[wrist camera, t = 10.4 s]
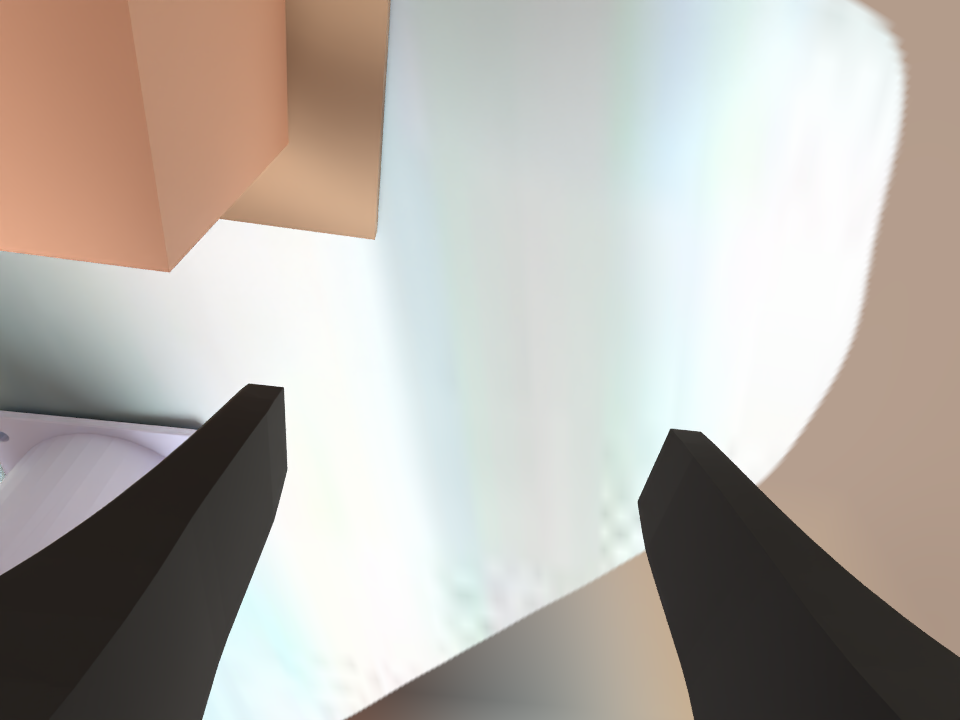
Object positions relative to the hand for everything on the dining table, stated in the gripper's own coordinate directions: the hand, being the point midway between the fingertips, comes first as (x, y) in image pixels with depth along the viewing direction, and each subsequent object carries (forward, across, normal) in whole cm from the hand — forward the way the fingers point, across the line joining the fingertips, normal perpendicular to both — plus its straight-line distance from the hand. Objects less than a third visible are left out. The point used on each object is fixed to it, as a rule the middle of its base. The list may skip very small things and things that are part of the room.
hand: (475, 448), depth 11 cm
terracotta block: (+9, +8, -5) cm, 13 cm away
